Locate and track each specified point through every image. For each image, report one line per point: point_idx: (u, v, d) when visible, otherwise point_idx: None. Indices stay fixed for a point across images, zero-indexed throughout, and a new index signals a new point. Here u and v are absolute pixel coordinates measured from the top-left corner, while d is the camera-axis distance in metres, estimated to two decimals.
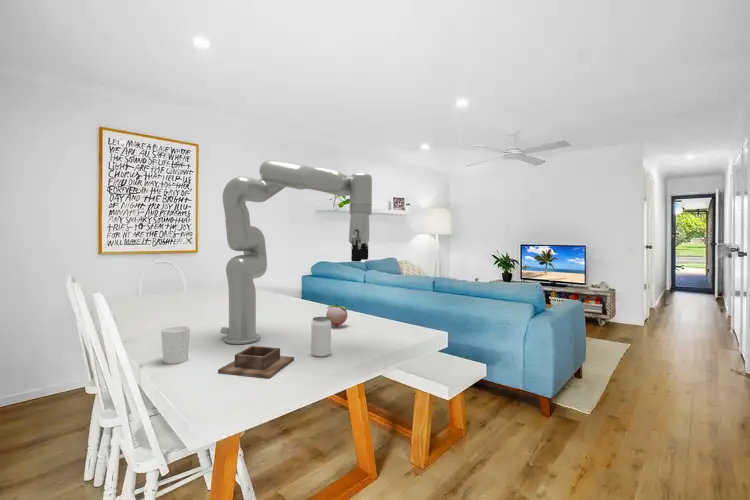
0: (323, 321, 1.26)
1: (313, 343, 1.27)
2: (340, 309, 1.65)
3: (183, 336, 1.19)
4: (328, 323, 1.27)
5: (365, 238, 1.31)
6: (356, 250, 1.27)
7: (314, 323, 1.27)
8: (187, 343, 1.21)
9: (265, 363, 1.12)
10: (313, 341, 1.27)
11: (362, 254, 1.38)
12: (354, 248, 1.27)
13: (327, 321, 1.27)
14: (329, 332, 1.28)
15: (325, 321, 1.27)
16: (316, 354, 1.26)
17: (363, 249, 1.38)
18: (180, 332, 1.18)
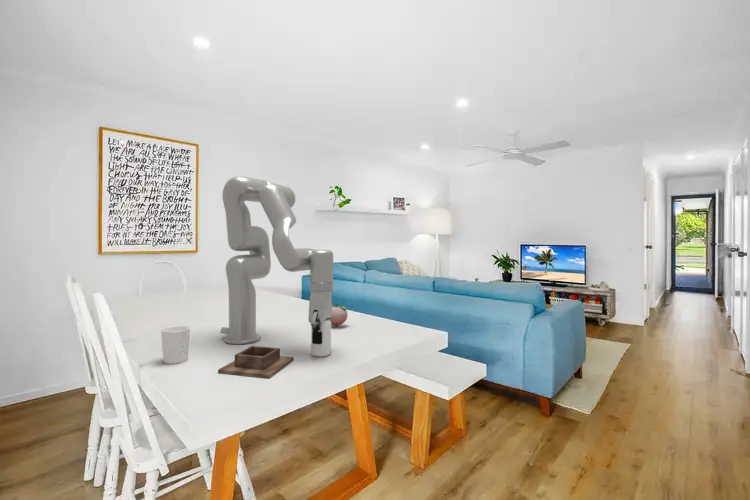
0: None
1: None
2: (340, 309, 1.65)
3: (183, 336, 1.19)
4: (328, 323, 1.27)
5: (326, 317, 1.27)
6: (317, 333, 1.25)
7: None
8: (187, 343, 1.21)
9: (265, 363, 1.12)
10: None
11: None
12: (314, 331, 1.24)
13: (327, 321, 1.27)
14: (329, 332, 1.28)
15: (325, 321, 1.27)
16: (316, 354, 1.26)
17: None
18: (180, 332, 1.18)
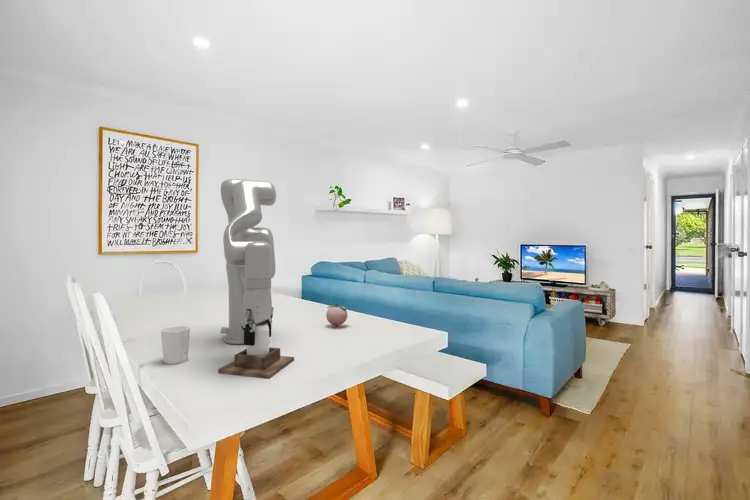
0: (258, 326, 1.14)
1: (248, 351, 1.15)
2: (340, 309, 1.65)
3: (183, 336, 1.19)
4: (265, 328, 1.15)
5: (262, 317, 1.14)
6: (248, 333, 1.11)
7: None
8: (187, 343, 1.21)
9: (265, 363, 1.12)
10: (248, 348, 1.14)
11: None
12: (246, 331, 1.11)
13: (263, 326, 1.15)
14: (266, 338, 1.15)
15: (261, 326, 1.14)
16: None
17: None
18: (180, 332, 1.18)
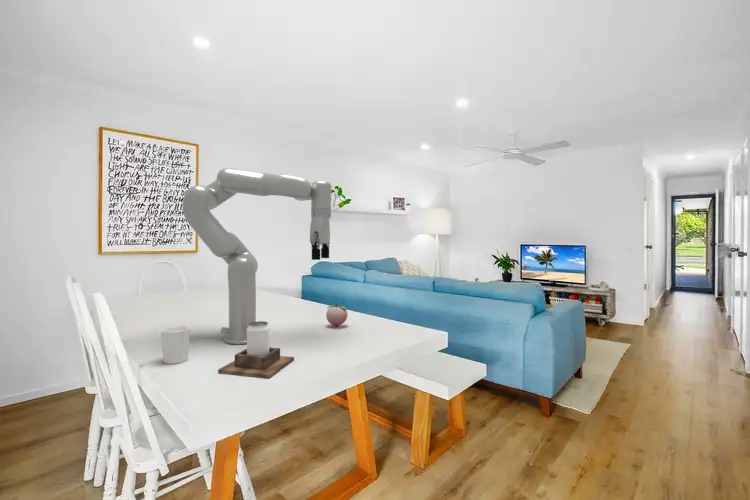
0: (259, 326, 1.14)
1: (248, 351, 1.15)
2: (340, 309, 1.65)
3: (183, 336, 1.19)
4: (265, 328, 1.15)
5: (324, 239, 1.47)
6: (315, 249, 1.44)
7: (249, 329, 1.14)
8: (187, 343, 1.21)
9: (265, 363, 1.12)
10: (248, 348, 1.15)
11: (323, 253, 1.54)
12: (314, 248, 1.43)
13: (264, 326, 1.15)
14: (266, 338, 1.15)
15: (261, 326, 1.14)
16: None
17: (324, 249, 1.54)
18: (180, 332, 1.18)
